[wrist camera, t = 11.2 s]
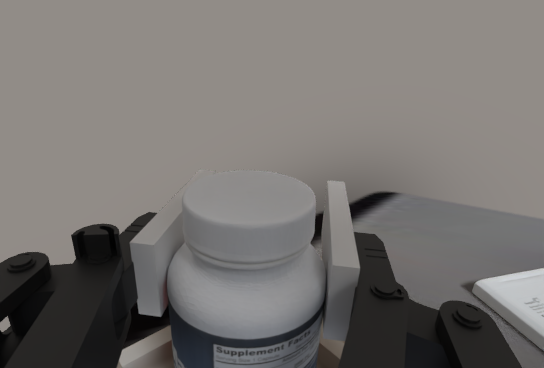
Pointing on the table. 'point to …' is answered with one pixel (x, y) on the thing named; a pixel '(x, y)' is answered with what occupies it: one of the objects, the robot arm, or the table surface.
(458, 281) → the table surface
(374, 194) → the table surface
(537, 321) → the external hard drive
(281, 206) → the pill bottle
